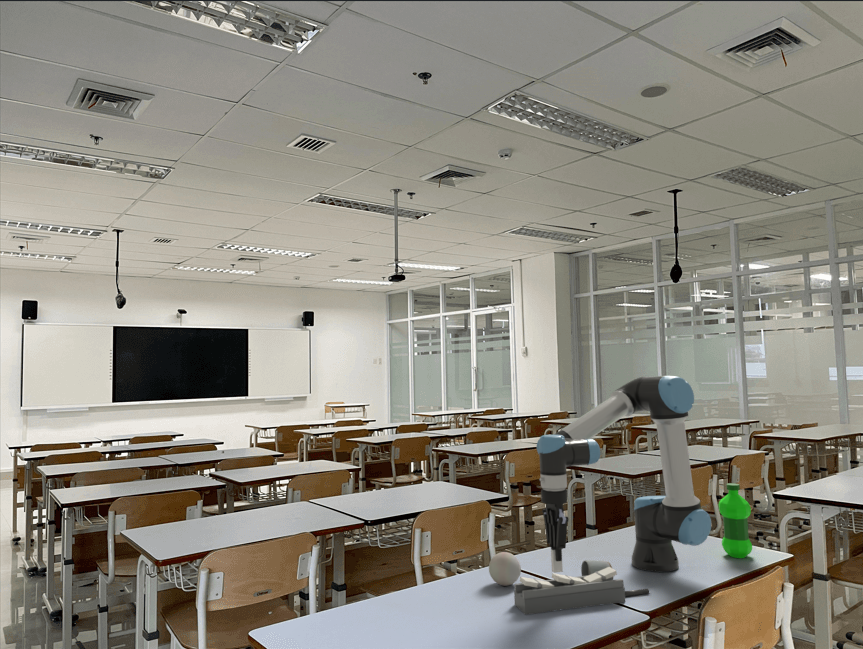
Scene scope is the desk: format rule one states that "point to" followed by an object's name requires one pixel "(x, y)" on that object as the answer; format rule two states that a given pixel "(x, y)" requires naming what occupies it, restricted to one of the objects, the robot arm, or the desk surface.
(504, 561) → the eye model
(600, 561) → the ceramic mug
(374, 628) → the desk surface
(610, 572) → the rocker
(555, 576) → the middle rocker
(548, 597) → the power strip
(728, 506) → the plastic bottle
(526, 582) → the end rocker
